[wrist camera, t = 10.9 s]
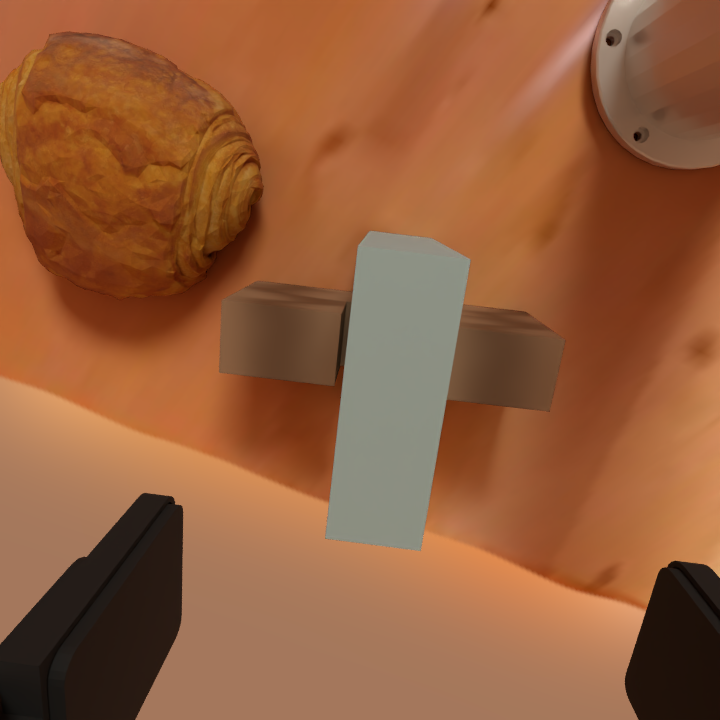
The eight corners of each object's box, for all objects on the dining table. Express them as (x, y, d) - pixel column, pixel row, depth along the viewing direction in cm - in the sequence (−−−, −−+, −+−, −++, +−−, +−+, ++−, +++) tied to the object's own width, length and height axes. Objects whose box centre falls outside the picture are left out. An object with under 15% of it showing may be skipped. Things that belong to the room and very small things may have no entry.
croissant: (85, 26, 34) (-23, -44, 26) (300, 130, 33) (254, 90, 25) (22, 235, 37) (-90, 229, 29) (215, 336, 36) (151, 356, 28)
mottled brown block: (525, 311, 35) (565, 339, 27) (514, 369, 36) (549, 411, 28) (257, 280, 35) (221, 299, 27) (254, 338, 36) (219, 372, 29)
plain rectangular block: (370, 230, 34) (358, 245, 19) (431, 238, 34) (470, 259, 19) (349, 403, 37) (325, 538, 22) (405, 410, 37) (420, 551, 22)
